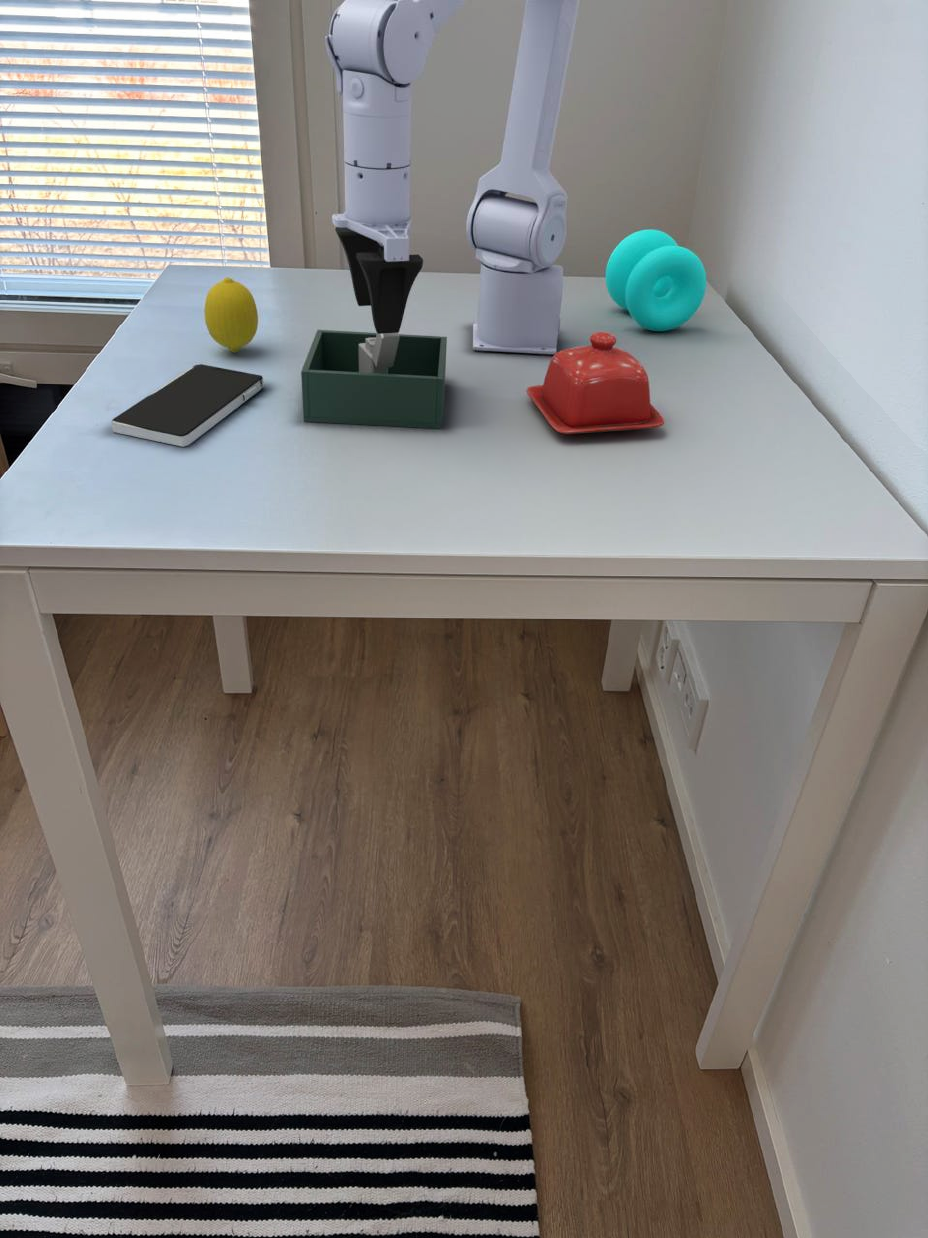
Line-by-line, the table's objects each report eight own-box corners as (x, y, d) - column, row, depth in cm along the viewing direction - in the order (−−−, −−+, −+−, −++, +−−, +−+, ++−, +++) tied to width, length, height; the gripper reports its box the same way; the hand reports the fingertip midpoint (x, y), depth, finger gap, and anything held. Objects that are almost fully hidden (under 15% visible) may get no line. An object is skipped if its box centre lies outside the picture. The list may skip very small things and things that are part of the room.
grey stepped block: (358, 384, 98) (357, 306, 93) (374, 382, 98) (374, 304, 94) (382, 412, 93) (382, 331, 88) (399, 410, 93) (400, 329, 89)
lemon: (249, 364, 102) (243, 288, 97) (200, 357, 103) (191, 282, 98) (268, 346, 106) (263, 273, 102) (220, 340, 107) (213, 267, 102)
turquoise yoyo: (624, 335, 115) (638, 250, 109) (597, 308, 123) (608, 226, 117) (701, 333, 117) (718, 249, 111) (669, 306, 125) (683, 226, 119)
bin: (444, 383, 101) (446, 336, 98) (441, 428, 92) (443, 379, 89) (319, 376, 100) (317, 329, 97) (303, 421, 91) (301, 371, 88)
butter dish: (520, 396, 99) (528, 314, 94) (624, 391, 101) (637, 311, 96) (555, 446, 90) (565, 358, 85) (668, 438, 92) (685, 353, 87)
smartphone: (107, 420, 87) (196, 362, 98) (109, 433, 88) (197, 373, 99) (185, 437, 85) (266, 376, 96) (187, 449, 86) (267, 387, 97)
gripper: (315, 145, 87) (321, 295, 95) (350, 182, 76) (352, 347, 84) (390, 145, 89) (389, 291, 97) (434, 180, 78) (429, 342, 86)
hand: (377, 317), depth 91 cm, fingers open, 7 cm apart
